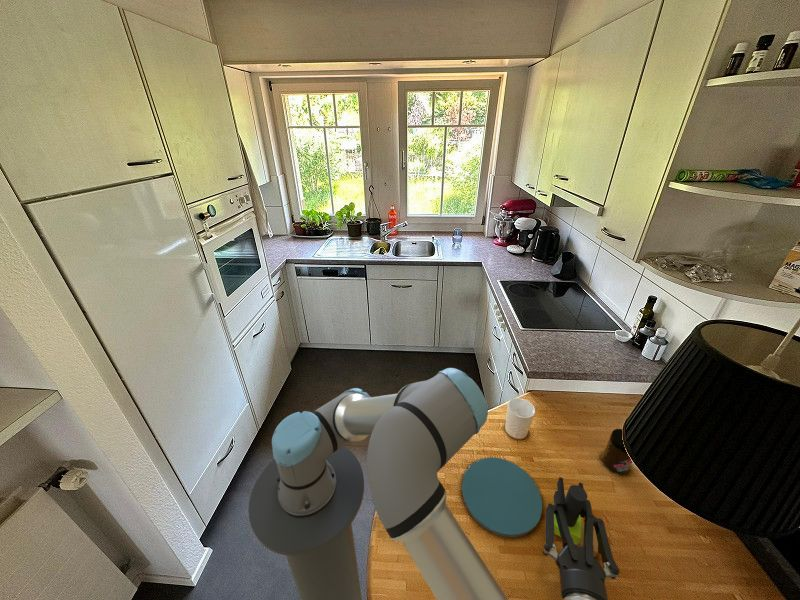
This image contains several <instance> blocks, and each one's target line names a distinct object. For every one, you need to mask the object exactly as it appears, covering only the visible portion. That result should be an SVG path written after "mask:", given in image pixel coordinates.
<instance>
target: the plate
mask: <svg viewBox="0 0 800 600" xmlns="http://www.w3.org/2000/svg"><path fill="white" fill-rule="evenodd" d="M461 495H462V499H463V503H464V505H465V507H466V509H467V511H468V513H469V514H470V515H471V517H472V518H473V520H474V521H475V522H477V523H478V524H479V525H480V526H481V527H482V528H483V529H485V530H487V531H488V532H490V533H491V534H495V535H497V536H500V537H505V538H519V537H524V536H525V535H528V534H529V533H531V532H532V531H533V530H534V529H536V527H537V525H538V524H539V522H540V520H541V517H542V514H543V500H542V496H541V493H540V490H539V488H538V486H537V484H536V483H535V481H534V479H533V478H532V477H531V476H530V475H529V473H527V472H526V471H525V470H524V469H523V468H522V467H520V466H519V465H517V464H515V463H514V462H512V461H509V460H507V459H503V458H499V457H484V458H481V459H478V460H475V461H474V462H473V463H471V464H470V465H469V466H468V467H467V469H466V470H465V472H464V474H463V476H462V482H461Z"/></svg>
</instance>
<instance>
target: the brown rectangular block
mask: <svg viewBox="0 0 800 600" xmlns="http://www.w3.org/2000/svg"><path fill="white" fill-rule="evenodd" d="M583 539H584V523H582V524H581V538H580V541H579V543H578V545H577V546H579V547H583ZM598 554H599V545H598V541H597V536H596V532H595V528H593V555H594V557H595V558H596V557H597V555H598Z"/></svg>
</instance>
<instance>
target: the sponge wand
mask: <svg viewBox="0 0 800 600" xmlns="http://www.w3.org/2000/svg"><path fill="white" fill-rule="evenodd" d="M583 488H584V487H583ZM583 488H582V487H580V486H578V484H571V485H569V487H568V490H567V492H566V494H565V502H566V505H565V508H564V514H565V517H566V521H567V524H568V528H569V531H570V535H571V537H572V538H573V542H574V544H575V545H578V543H579V541H580V538H581V524H583V523H582V522H583V517H580V513H581V511H582V509H583V506H584V504H585V502H586V500H588V493H587V491H586V490H585V488H584V489H583ZM552 505H554V503H553V504H552ZM554 535H555V536H558V537H560V538H561V535H560V532H559V528H558V524H557V520H556V516H555V514H554Z"/></svg>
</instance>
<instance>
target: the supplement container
mask: <svg viewBox="0 0 800 600" xmlns="http://www.w3.org/2000/svg"><path fill="white" fill-rule="evenodd" d="M622 429H623V428H616V429H613V430H612V432H611V434H610V436H609V439H608V442H607V443H606V445H605V448H604V450H603V453H602V455H601V460H602V462H603V464H604V465H605V467H606V468H607V469H609V470H610V471H612V472H614V473H616V474H625V473H627V472H628V471H630V469H631V466H632V464H633V462H632V461H631V459H630V457H629V456H628V454H627V452H626V450H625V447H624V444H623V440H622Z"/></svg>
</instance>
